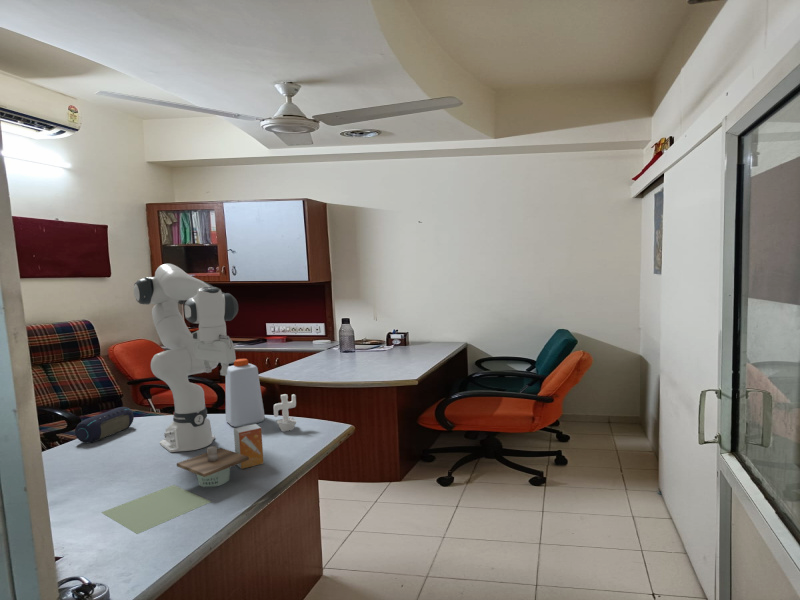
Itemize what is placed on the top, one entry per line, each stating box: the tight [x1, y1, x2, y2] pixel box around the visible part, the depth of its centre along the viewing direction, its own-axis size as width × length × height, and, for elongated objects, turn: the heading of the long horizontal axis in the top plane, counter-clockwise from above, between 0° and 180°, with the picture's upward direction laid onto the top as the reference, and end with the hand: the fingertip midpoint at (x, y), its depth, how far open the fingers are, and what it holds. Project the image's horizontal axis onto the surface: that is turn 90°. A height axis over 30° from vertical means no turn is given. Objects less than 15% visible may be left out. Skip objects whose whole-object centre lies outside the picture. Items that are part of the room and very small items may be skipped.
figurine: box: [273, 393, 297, 433], centre depth 223 cm, size 7×9×15 cm
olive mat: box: [101, 484, 212, 535], centre depth 156 cm, size 22×22×1 cm
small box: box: [233, 423, 265, 470], centre depth 187 cm, size 8×6×13 cm
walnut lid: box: [176, 445, 249, 477], centre depth 172 cm, size 16×16×5 cm
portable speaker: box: [74, 406, 135, 444], centre depth 229 cm, size 25×10×10 cm, turn 163°
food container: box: [195, 467, 231, 488], centre depth 173 cm, size 12×12×6 cm
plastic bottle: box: [225, 358, 265, 428], centre depth 238 cm, size 15×15×28 cm
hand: (216, 373), depth 184 cm, fingers open, 8 cm apart
